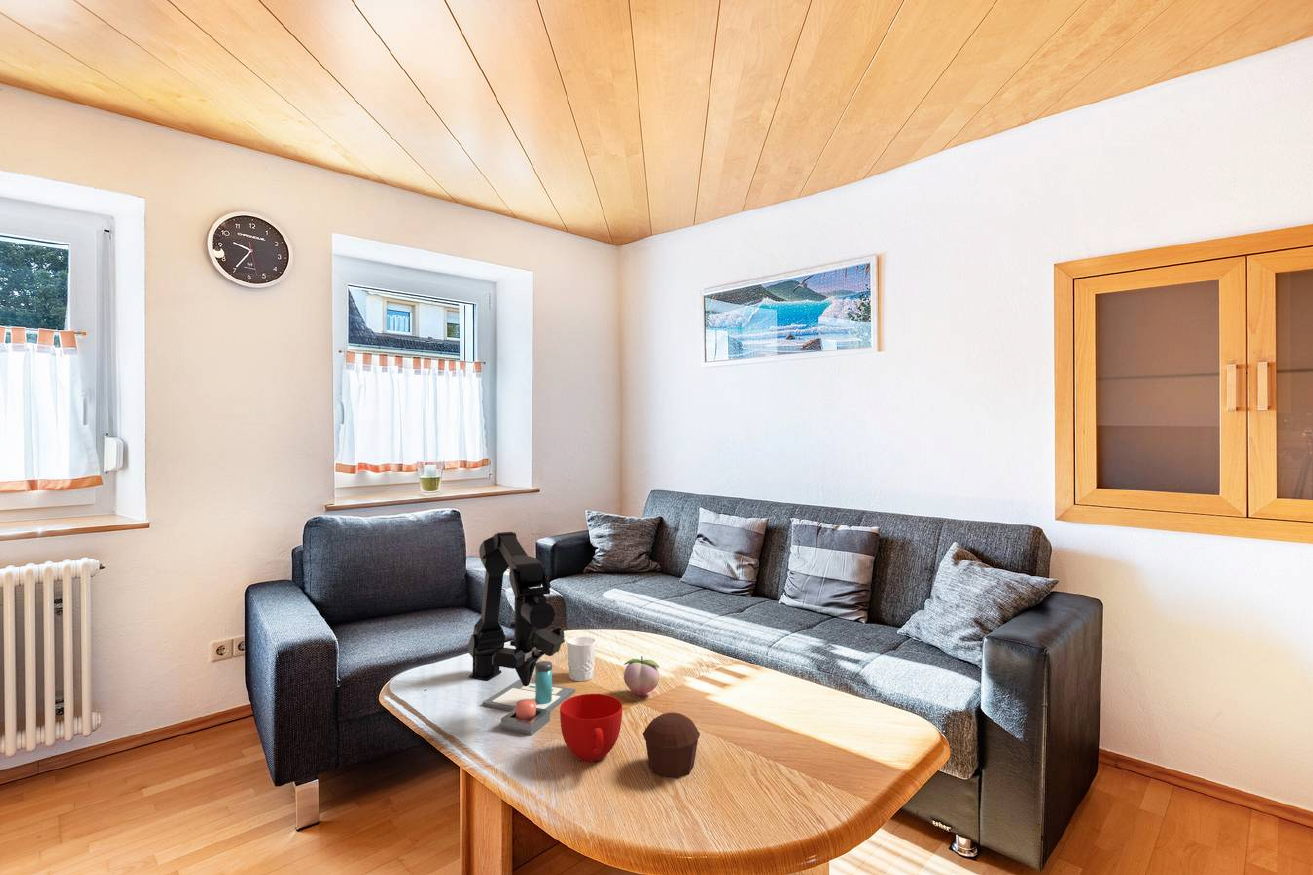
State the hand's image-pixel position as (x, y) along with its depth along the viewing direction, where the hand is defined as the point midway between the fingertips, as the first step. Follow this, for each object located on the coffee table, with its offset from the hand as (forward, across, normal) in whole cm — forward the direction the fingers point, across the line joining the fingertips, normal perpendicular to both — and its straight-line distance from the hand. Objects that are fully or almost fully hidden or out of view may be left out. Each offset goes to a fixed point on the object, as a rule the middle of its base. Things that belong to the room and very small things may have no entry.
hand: (526, 685), depth 145 cm
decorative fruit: (+9, +26, -18) cm, 33 cm away
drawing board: (+9, +13, +7) cm, 17 cm away
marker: (+8, +11, +2) cm, 14 cm away
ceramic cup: (+9, -8, -21) cm, 24 cm away
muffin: (+9, -5, -37) cm, 39 cm away
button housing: (+9, 0, 0) cm, 9 cm away
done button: (+7, 0, 0) cm, 8 cm away
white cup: (+9, +31, +2) cm, 32 cm away
